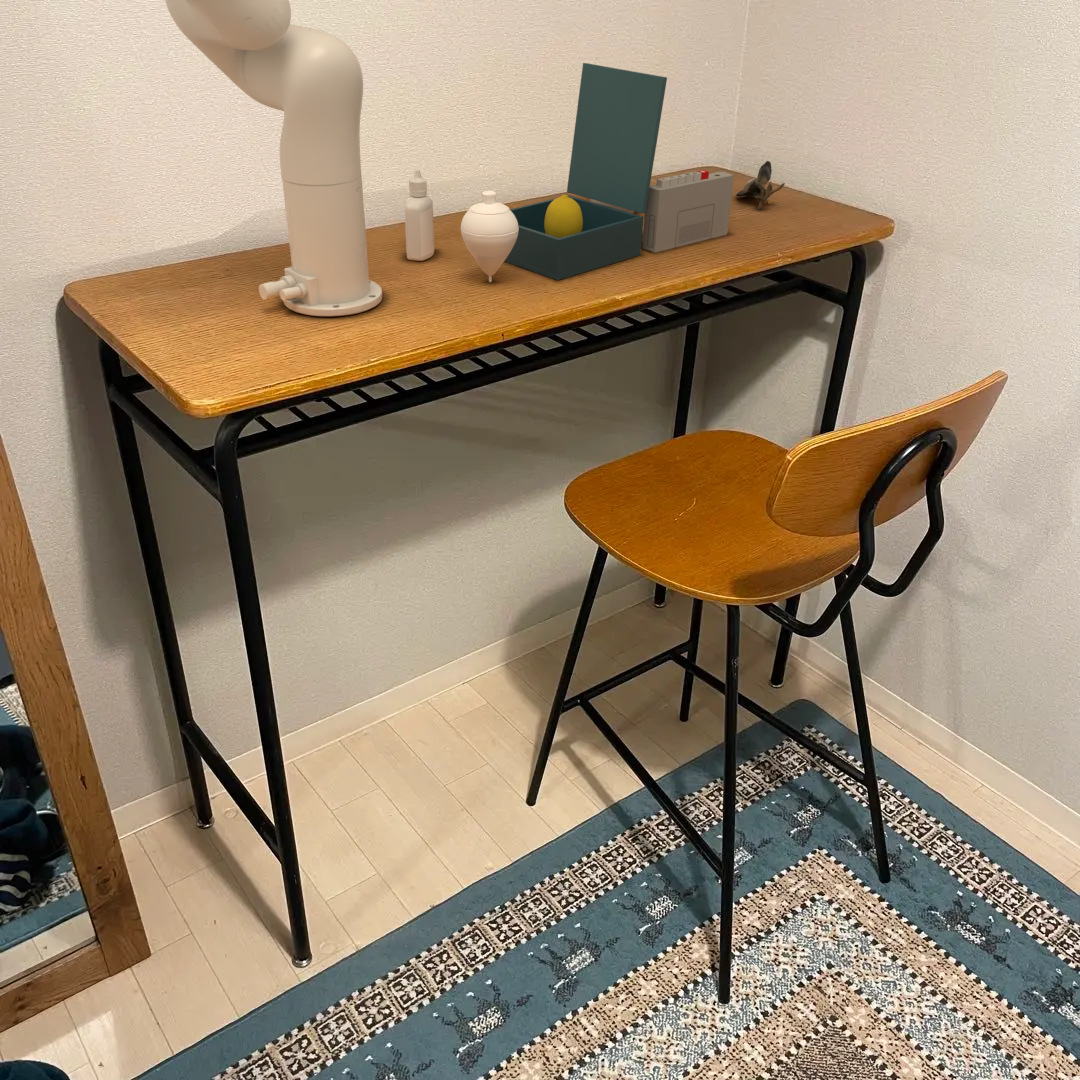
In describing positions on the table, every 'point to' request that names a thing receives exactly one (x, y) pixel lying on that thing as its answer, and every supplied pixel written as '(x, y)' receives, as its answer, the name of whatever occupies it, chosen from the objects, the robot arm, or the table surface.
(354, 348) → the table surface
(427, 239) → the eye dropper bottle
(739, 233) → the table surface
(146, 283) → the table surface
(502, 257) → the spinning top
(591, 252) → the chest
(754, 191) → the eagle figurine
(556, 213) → the lemon
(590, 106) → the lid
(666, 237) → the cassette player
